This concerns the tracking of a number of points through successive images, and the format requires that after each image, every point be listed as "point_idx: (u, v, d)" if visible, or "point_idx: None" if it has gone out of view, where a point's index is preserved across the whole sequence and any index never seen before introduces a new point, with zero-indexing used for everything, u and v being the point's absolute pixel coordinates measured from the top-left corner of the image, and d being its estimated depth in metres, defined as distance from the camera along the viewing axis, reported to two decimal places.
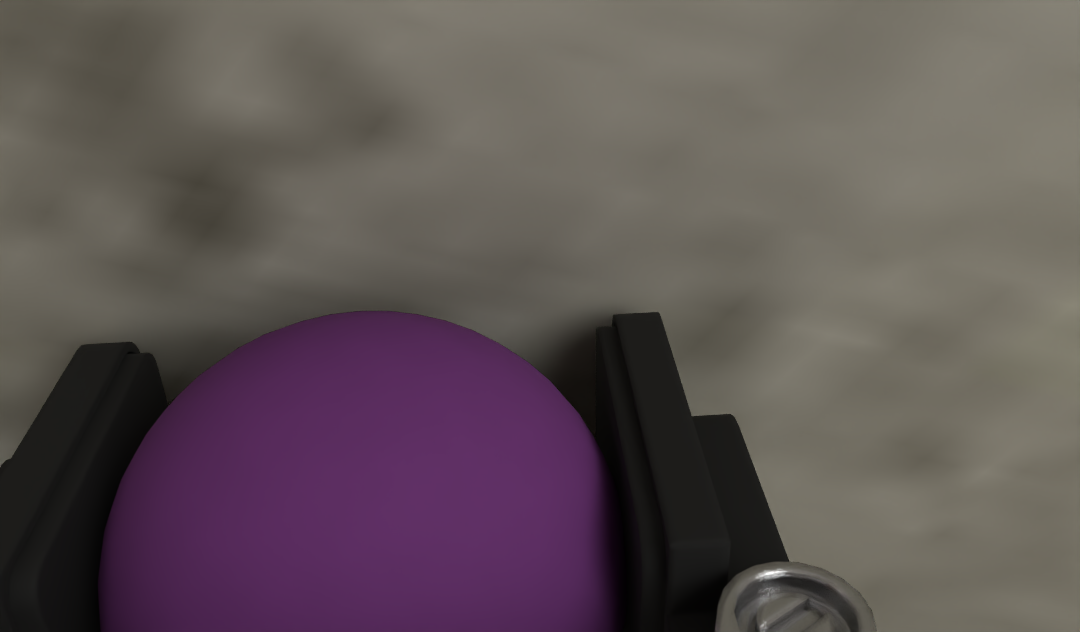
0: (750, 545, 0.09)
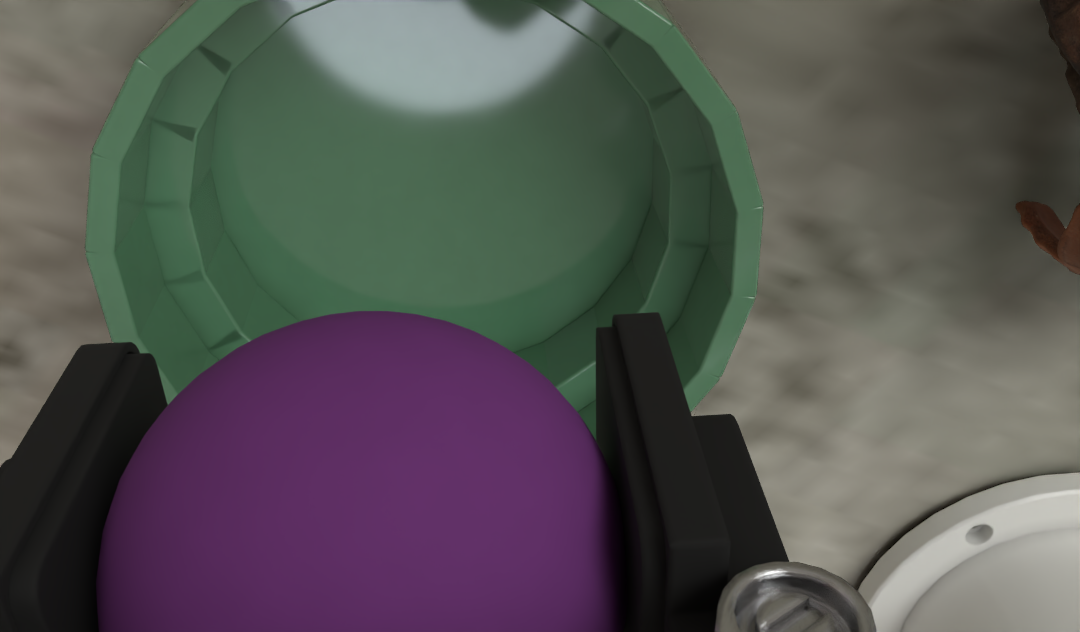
0: (750, 545, 0.09)
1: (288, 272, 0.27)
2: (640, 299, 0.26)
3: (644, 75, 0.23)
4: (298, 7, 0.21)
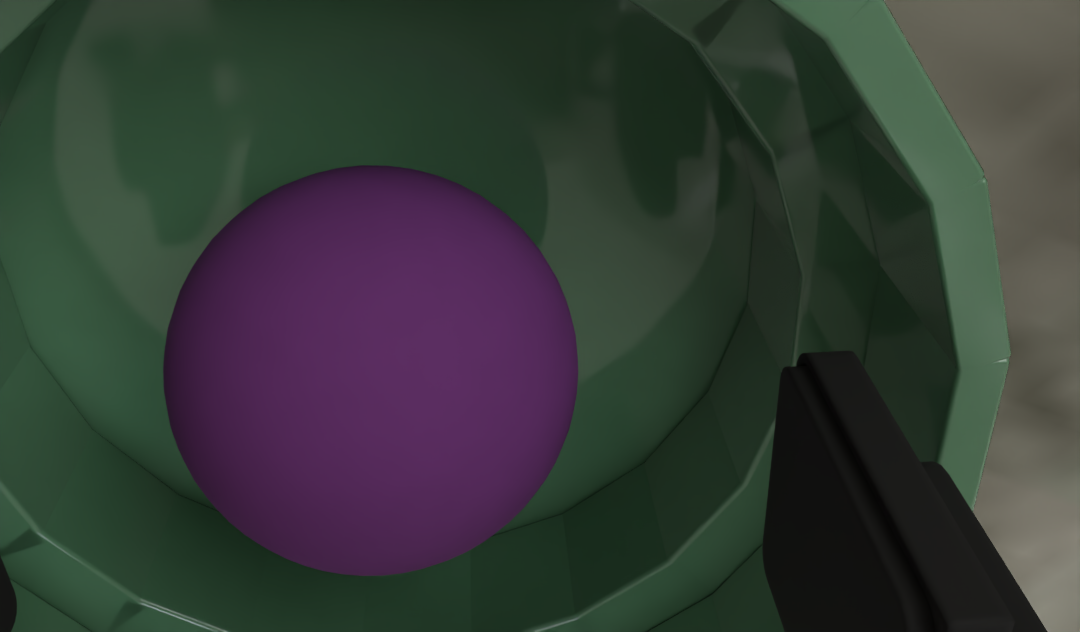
0: None
1: (144, 410, 0.17)
2: (731, 474, 0.15)
3: (769, 97, 0.12)
4: None
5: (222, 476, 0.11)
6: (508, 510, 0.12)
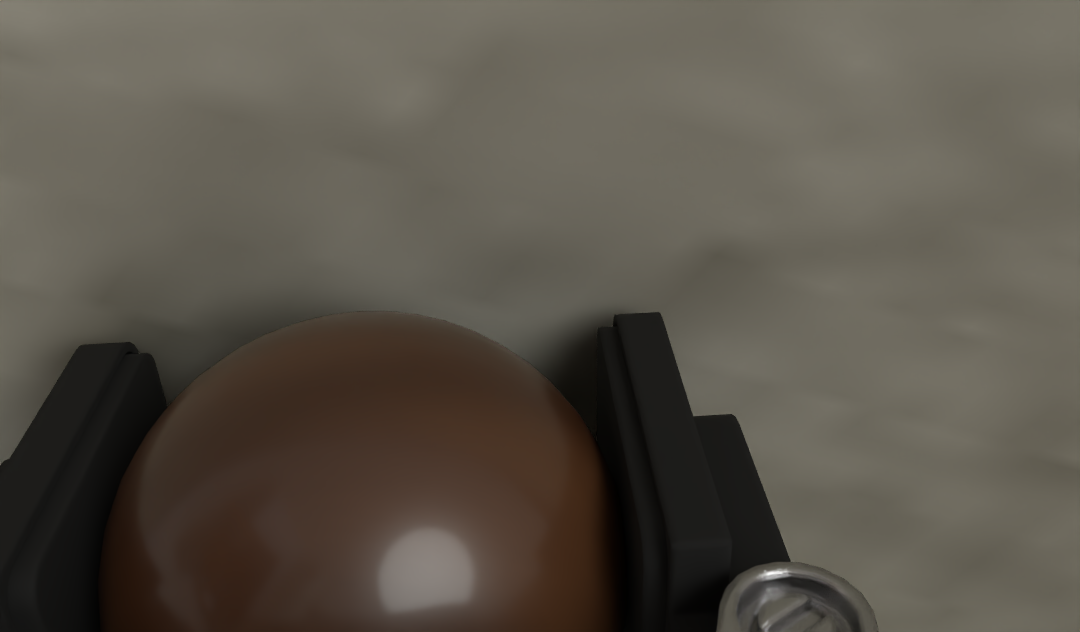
0: (751, 545, 0.09)
1: None
2: None
3: None
4: None
5: None
6: None
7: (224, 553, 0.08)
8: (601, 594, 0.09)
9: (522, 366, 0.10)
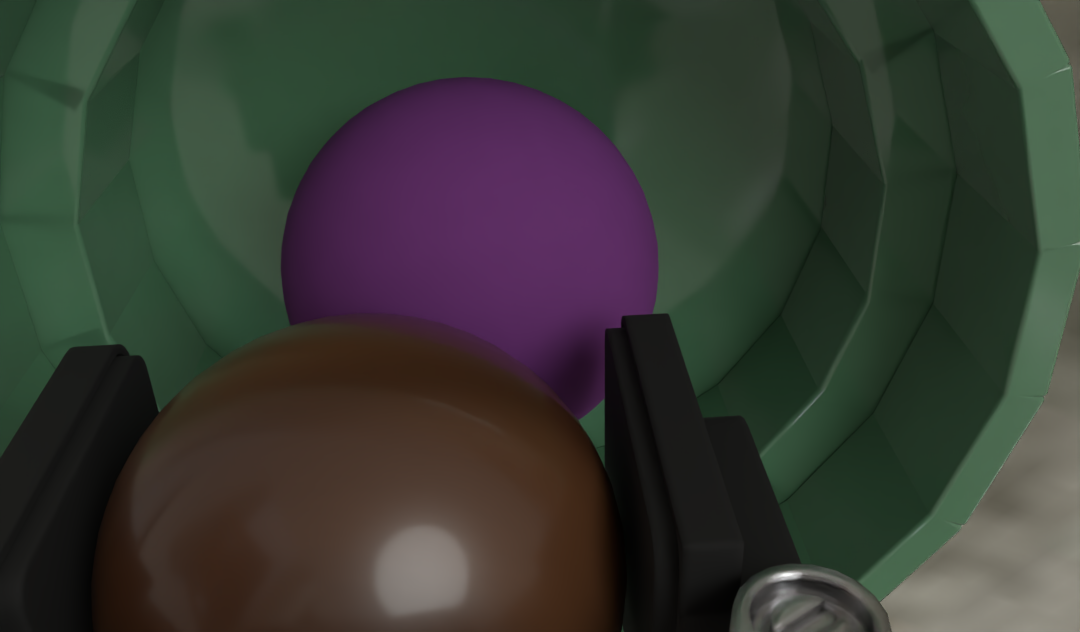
0: (762, 547, 0.09)
1: (254, 325, 0.18)
2: (808, 382, 0.16)
3: (861, 9, 0.13)
4: None
5: None
6: (584, 397, 0.13)
7: (212, 557, 0.08)
8: (596, 601, 0.09)
9: (519, 370, 0.10)
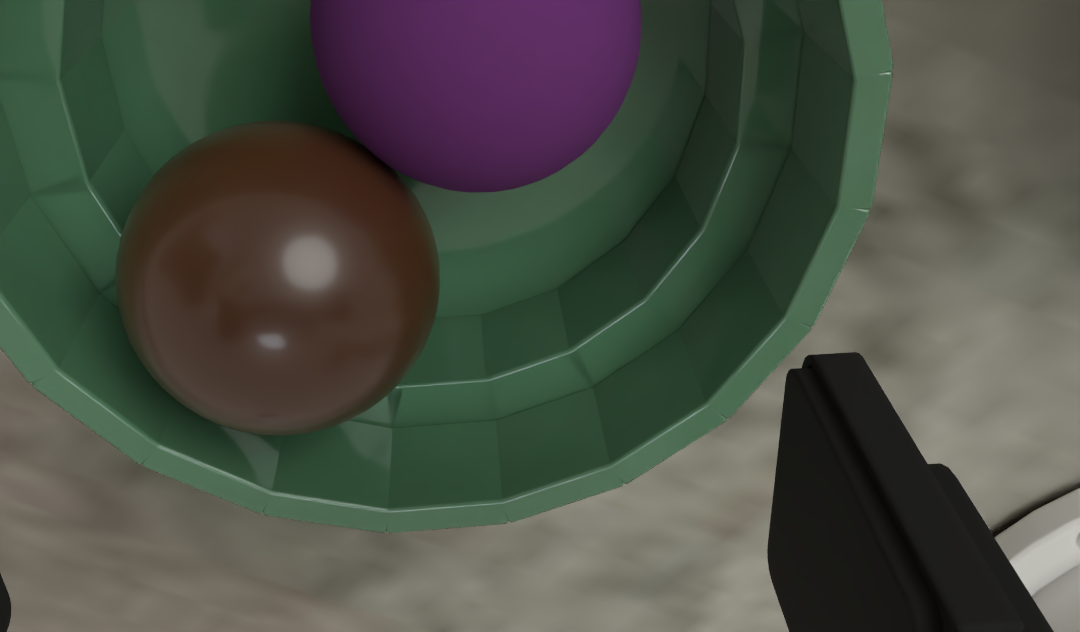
0: None
1: None
2: (693, 224, 0.19)
3: None
4: None
5: None
6: (624, 75, 0.16)
7: None
8: None
9: (228, 405, 0.16)
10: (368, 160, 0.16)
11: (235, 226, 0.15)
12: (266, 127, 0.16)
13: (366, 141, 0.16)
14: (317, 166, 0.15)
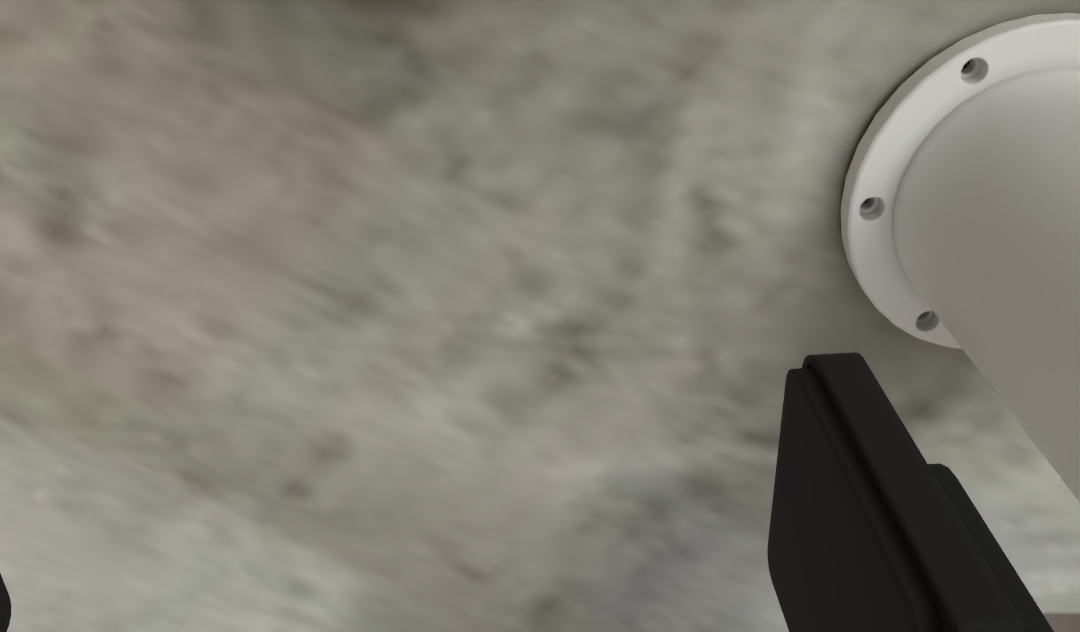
0: None
1: None
2: None
3: None
4: None
5: None
6: None
7: None
8: None
9: None
10: None
11: None
12: None
13: None
14: None
